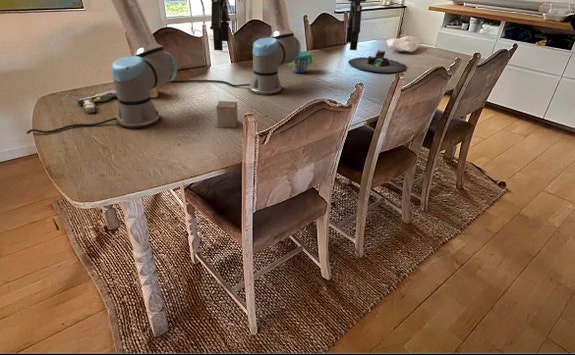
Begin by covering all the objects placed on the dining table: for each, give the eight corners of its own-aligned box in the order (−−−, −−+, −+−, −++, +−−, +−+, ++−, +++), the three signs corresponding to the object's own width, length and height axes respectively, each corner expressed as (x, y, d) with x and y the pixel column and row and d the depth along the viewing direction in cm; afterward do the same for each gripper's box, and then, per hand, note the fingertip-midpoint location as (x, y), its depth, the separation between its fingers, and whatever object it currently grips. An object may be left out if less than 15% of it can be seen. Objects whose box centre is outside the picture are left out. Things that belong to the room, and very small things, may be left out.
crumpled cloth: (372, 47, 255) (376, 34, 249) (400, 41, 275) (404, 29, 269) (399, 60, 243) (404, 46, 237) (427, 52, 263) (432, 40, 257)
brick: (235, 127, 140) (234, 107, 136) (217, 127, 140) (216, 106, 136) (237, 121, 145) (237, 101, 141) (220, 121, 145) (219, 100, 141)
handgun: (128, 97, 156) (111, 87, 164) (86, 107, 144) (70, 97, 152) (129, 103, 157) (113, 94, 165) (88, 114, 146) (72, 103, 154)
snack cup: (305, 67, 213) (306, 49, 208) (316, 72, 206) (318, 53, 200) (283, 70, 206) (283, 52, 200) (293, 75, 198) (294, 56, 193)
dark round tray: (418, 67, 219) (420, 52, 215) (377, 75, 202) (379, 59, 197) (375, 58, 244) (377, 43, 239) (336, 64, 226) (337, 49, 222)
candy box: (157, 97, 164) (152, 63, 155) (147, 98, 163) (141, 63, 155) (158, 91, 171) (153, 57, 163) (149, 91, 170) (143, 58, 162)
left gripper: (223, -21, 104) (227, 55, 116) (235, -27, 125) (237, 38, 137) (197, -22, 104) (203, 53, 116) (213, -28, 125) (217, 37, 137)
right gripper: (373, -6, 132) (364, 53, 144) (362, -13, 153) (355, 40, 165) (352, -7, 132) (345, 53, 144) (345, -14, 153) (339, 39, 165)
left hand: (221, 45), depth 126 cm, fingers open, 13 cm apart
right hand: (351, 46), depth 154 cm, fingers open, 13 cm apart
